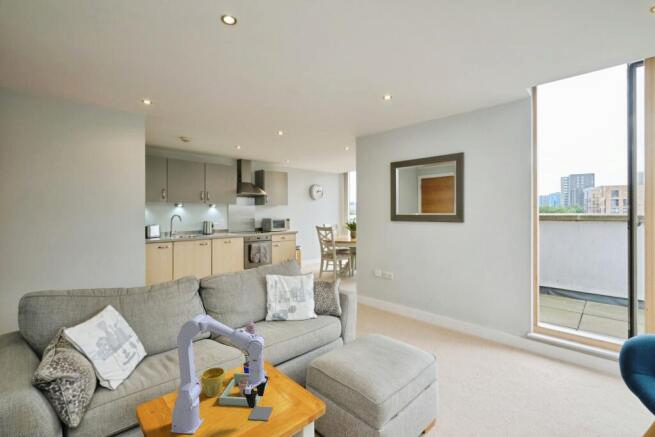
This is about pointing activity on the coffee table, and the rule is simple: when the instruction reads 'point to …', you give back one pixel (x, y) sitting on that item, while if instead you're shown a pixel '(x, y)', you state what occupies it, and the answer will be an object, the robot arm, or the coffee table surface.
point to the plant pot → (213, 381)
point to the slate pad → (261, 413)
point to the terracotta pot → (242, 386)
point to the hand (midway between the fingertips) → (256, 401)
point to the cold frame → (236, 400)
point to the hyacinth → (251, 329)
